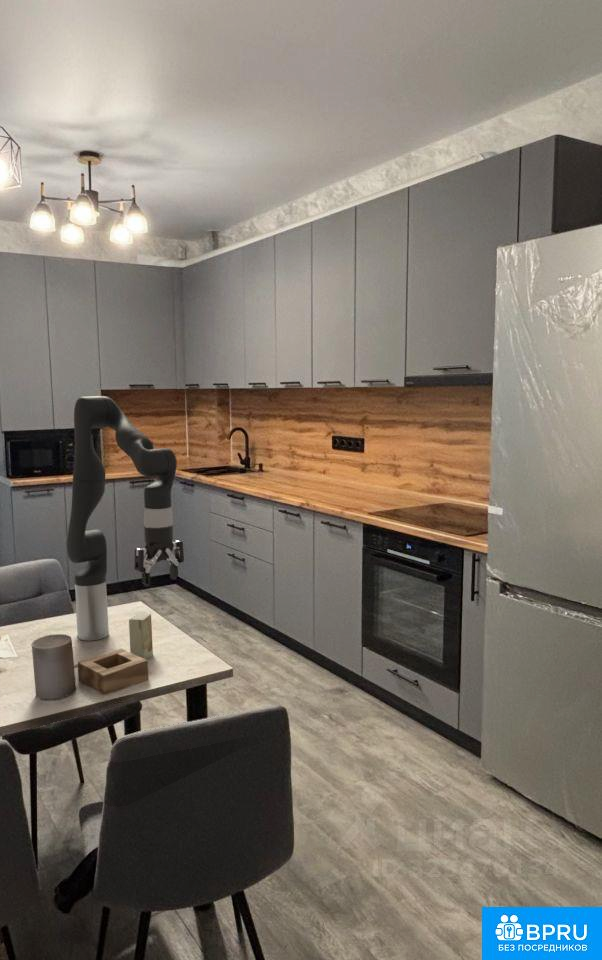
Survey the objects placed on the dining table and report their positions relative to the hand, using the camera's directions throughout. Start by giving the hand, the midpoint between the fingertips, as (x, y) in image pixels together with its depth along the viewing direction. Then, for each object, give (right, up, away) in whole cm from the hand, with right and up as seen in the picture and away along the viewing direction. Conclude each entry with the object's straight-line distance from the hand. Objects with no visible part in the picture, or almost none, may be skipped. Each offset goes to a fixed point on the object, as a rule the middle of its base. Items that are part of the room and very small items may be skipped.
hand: (160, 582), depth 192 cm
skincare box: (-7, -23, +11) cm, 27 cm away
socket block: (-11, -25, -5) cm, 28 cm away
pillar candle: (-24, -27, -12) cm, 38 cm away
